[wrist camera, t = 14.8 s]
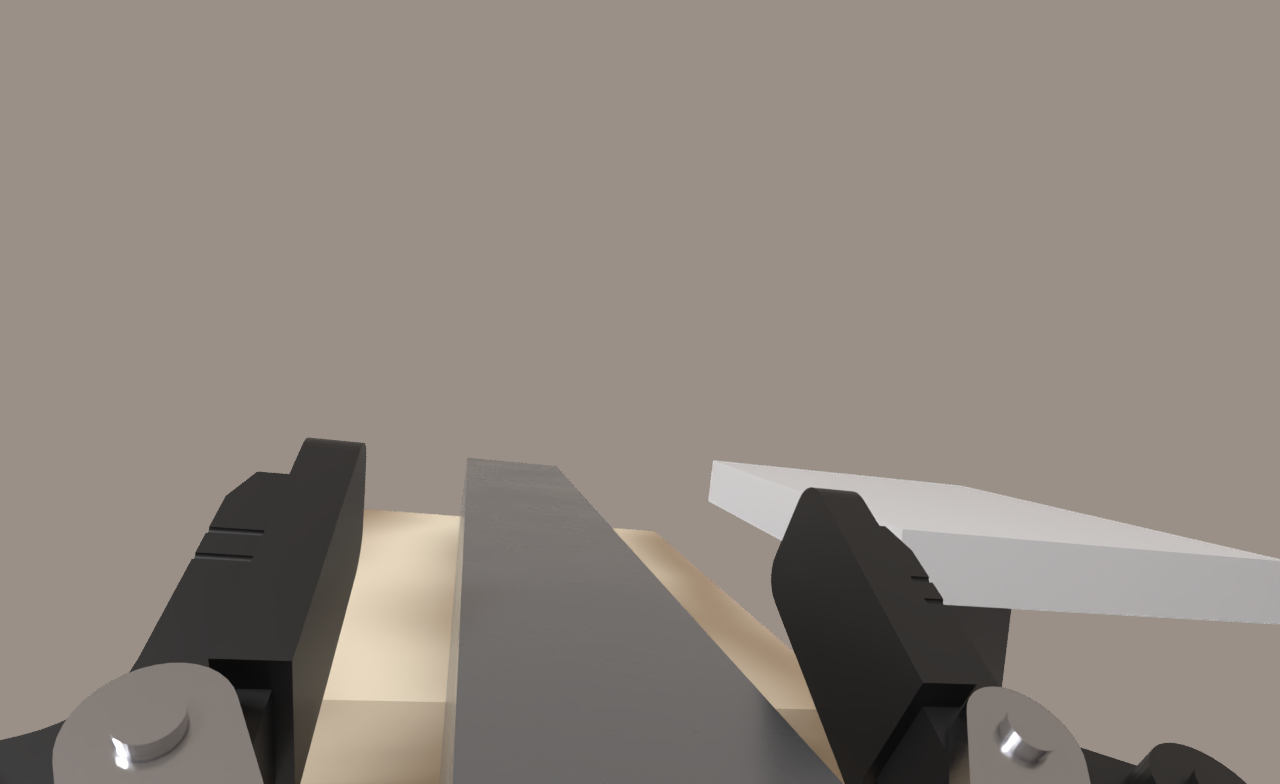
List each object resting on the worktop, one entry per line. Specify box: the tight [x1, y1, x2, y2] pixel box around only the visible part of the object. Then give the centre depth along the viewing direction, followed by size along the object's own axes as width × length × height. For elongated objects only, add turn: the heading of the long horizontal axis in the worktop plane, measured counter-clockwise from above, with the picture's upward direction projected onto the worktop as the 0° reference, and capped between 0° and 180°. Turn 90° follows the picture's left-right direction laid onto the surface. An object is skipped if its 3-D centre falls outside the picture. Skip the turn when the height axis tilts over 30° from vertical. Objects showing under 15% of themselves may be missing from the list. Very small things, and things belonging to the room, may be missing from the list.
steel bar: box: [439, 458, 843, 784], centre depth 17 cm, size 4×24×2 cm, turn 13°
